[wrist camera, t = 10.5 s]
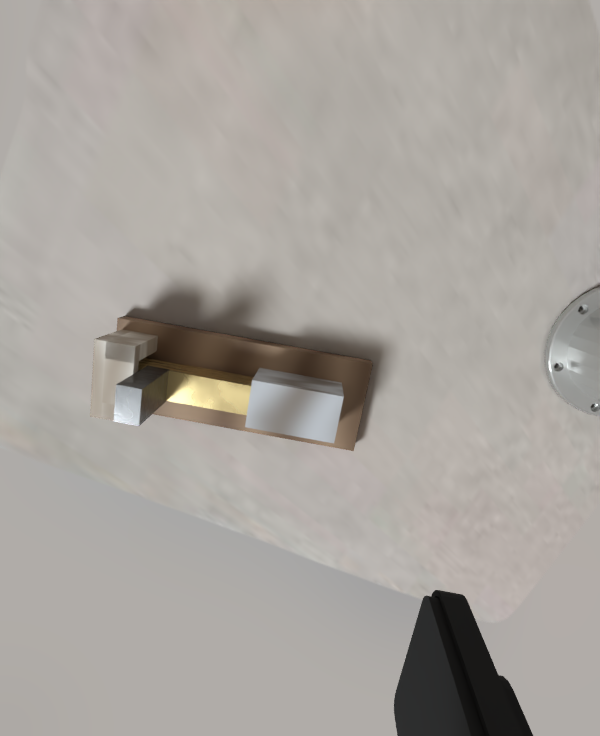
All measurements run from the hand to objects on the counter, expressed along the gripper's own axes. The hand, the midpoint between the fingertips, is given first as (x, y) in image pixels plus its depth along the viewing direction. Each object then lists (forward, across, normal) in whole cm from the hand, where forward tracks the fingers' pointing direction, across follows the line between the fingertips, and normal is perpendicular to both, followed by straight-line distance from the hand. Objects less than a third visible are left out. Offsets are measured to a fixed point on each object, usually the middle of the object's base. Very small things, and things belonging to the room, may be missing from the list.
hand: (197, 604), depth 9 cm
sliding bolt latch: (+34, +5, +6) cm, 35 cm away
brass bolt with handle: (+32, +7, +6) cm, 33 cm away
